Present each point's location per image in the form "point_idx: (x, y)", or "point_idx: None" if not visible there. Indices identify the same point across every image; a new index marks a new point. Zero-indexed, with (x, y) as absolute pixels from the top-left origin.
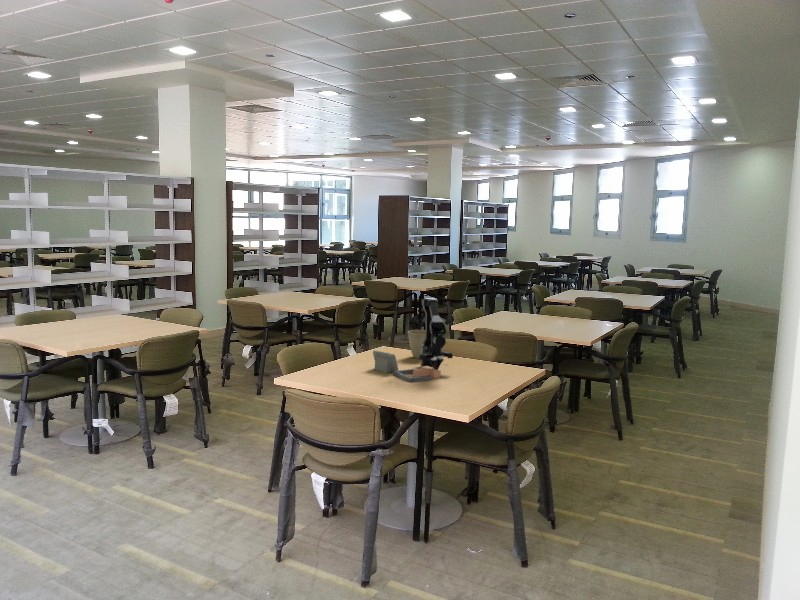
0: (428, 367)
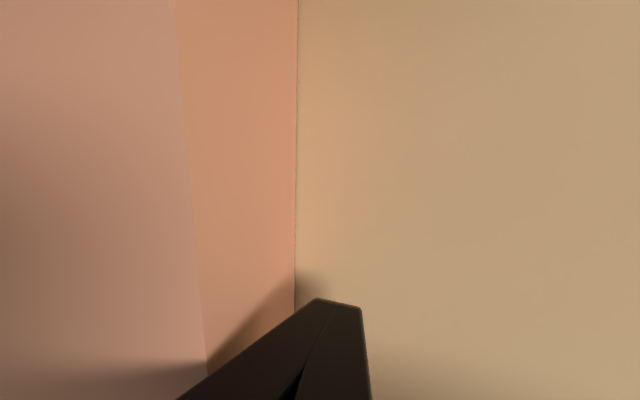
0: (63, 171)
